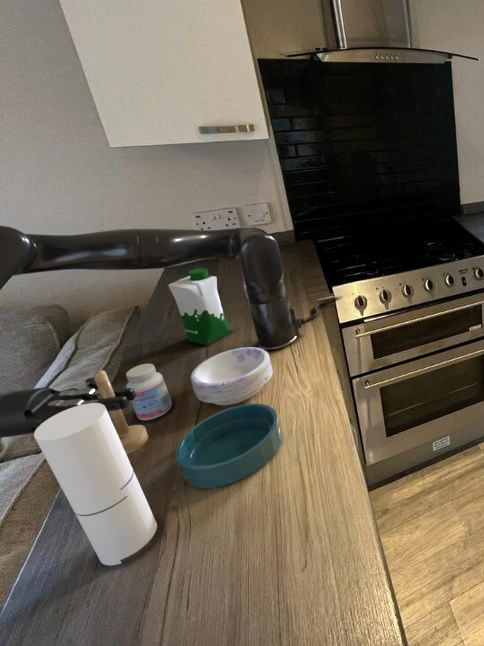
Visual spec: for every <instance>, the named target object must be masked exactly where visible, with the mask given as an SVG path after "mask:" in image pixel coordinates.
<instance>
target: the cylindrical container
mask: <svg viewBox="0 0 484 646" xmlns="http://www.w3.org/2000/svg"><path fill="white" fill-rule="evenodd" d="M33 437H34V439H35V441H36V444H37V445H38V447H39V449H40V450H41V453H42V455H43V456H44V458H45V460H46V462H47V464H48V465H49V468H50V469H51V471H52V473H53V475H54V477H55V479H56V481H57V482H58V484H59V486H60V488H61V490H62V492H63V494H64V496H65V498H66V499H67V501H68V503H69V505H70V507H71V509H72V511H73V512H74V514H75V516H76V519H77V520H78V522H79V524H80V526H81V527H82V530H83V532H84V533H85V535H86V537H87V539H88V541H89V543H90V545H91V547H92V548H93V550H94V552H95V554H96V556H97V558H98V560H99V561H100V562H99V563H101V564H102V565H104V566H116V565H120V564H123V562H122V560H125V559H126V558H128V557H130V556H132V555H134V554H135V553H137V552H138V551H140V550H141V549H142V548H143V547H145V546H146V545H147V544H148V543H150V541H151V540H152V538H153V537H154V535H155V533H156V531H157V529H158V524H157V520H156V518H155V516H154V514H153V512H152V509H151V507H150V504H149V502H148V500H147V498H146V496H145V493H144V492H143V489H142V487H141V485H140V482H139V480H138V477H137V476H136V473H135V471H134V468H133V466H132V464H131V461H130V459H129V458H128V457H129V456H128V454H126V453H125V450H124V448H123V446H122V444H121V441H120V439H119V437H118V434H117V431H116V429H115V426H114V424H113V422H112V419H111V417H110V415H109V412H108V411H107V410H106V408H105V406H104V405H103V404H100V403H89V404H83V405H79V406H76V407H73V408H70V409H67V410H65V411H62V412H60V413H58V414H56V415H54V416H52V417H51V418H49V419H48V420H46V421H45V422H43V423H42V424H41V425H40V426H39V427H38V428H37V429H36V431H35V432H34V433H33Z"/></svg>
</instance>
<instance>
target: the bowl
mask: <svg viewBox="0 0 484 646" xmlns="http://www.w3.org/2000/svg"><path fill="white" fill-rule="evenodd" d="M276 411H277V410H276V409H274V408H272V407H271V406H269V405H267V404H262V403H244V404H240V405H236V406H231V407H228V408H226V409H223V410H221V411H217V412H216V413H214V414H212V415H210V416H208V417H207V418H205V419H203V420H201V421H200V422H198V423H197V424H196V425H194V426H193V427H192V428H190V429H189V430H188V431H187V432H186V434H185V435H184V436H183V437H182V438H181V439H180V441H179V442H178V444H177V447H176V448H175V451H174V452H175V459H176V464H177V465H178V468H179V471H180V473H181V476H182V478H183V480H184V482H186V483H187V484H188V485H189V486H191V487H196V488H199V489H212V488H219V487H224V486H227V485H230V484H233V483H236V482H238V481H241V480H242V479H244V478H246V477H247V478H248V477H249V476H251V475H253V473H255V472H256V471H258V470H259V469H261V468H262V467H264V466H265V465H266V464H267V463H268V462H269V461H270V460H271V459H272V458H273V457H274V456H275V455H276V454H277V452H278V450H279V448H280V447H281V445H282V441H283V431H282V427H281V424H280V420H279V419H280V418H279V416H278V413H277V412H276Z"/></svg>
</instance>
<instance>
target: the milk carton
mask: <svg viewBox="0 0 484 646" xmlns="http://www.w3.org/2000/svg"><path fill="white" fill-rule="evenodd" d="M217 279H218V278H217V276H214V275H211V274H209V271H208V269H207V268H206V267H198V268H197V267H196V268H194V269H191V270H190V271H189V272H188V276H185V277H184V278H180V279H178V280H176V281H174V282H172V283H169V284H167V286H168V288H169V290H170V292H171V294H172V296H173V298H174V300H175V303H176V306H177V308H178V309H177V310H178V312H179V315H180V317H181V321H182V323H183V327H184V330H185V333H186V336H187V341H188V342H192V343H195V344H200V345H204V346H208V345H210V344H212V343H214V342H216V341H217V340H219V339H221V338H222V337H224V336H226V335H228V334H229V333H231V329H230V328H229V325H228V322H227V319H226V316H225V312H224V309H223V306H222V302H221V299H220V296H219V292H218V283H217V281H218V280H217Z"/></svg>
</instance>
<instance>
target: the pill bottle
mask: <svg viewBox="0 0 484 646" xmlns="http://www.w3.org/2000/svg"><path fill="white" fill-rule="evenodd" d="M156 370H157V368H156V367H155V364H153V363H143V364H139V365H136V366H134V367H132V368H130V369H129V370H128V371H126V373H125V376H126V380H127V381H128V382H127V384H126V386H125V387H126V388H132V389H134V391H135V393H136V397H135V399H134V400H131V401H130V402H131V404H132V407H133V409H134V410H133V411H134V412H135V415H136V417H137V419H138V420H142V421H150V420H155V419H158V418H159V417H162V416H164V415H165V414H166V413H168V412H169V411H170V410H171V408H172V407H173V406H172V405H173V402H172V400H171V399H172V398H171V396H170V393H169V391H168V388H167V385H166V381H165V379H164V377H163V375H162V374H161V373H160V372H157V371H156ZM126 388H125V389H126Z"/></svg>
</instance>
